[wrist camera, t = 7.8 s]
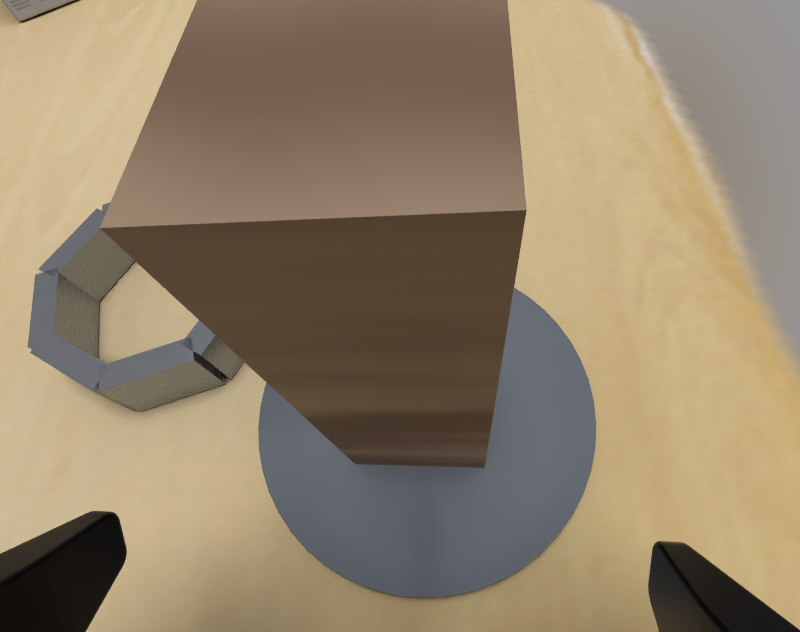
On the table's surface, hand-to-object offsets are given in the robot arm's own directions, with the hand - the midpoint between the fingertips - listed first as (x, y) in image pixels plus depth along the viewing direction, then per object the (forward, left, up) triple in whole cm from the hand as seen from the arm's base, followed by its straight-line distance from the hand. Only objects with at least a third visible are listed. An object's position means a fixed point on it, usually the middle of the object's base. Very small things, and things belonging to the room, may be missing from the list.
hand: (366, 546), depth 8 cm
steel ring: (+10, +11, -9) cm, 17 cm away
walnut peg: (+5, 0, -8) cm, 9 cm away
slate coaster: (+5, 0, -9) cm, 10 cm away
